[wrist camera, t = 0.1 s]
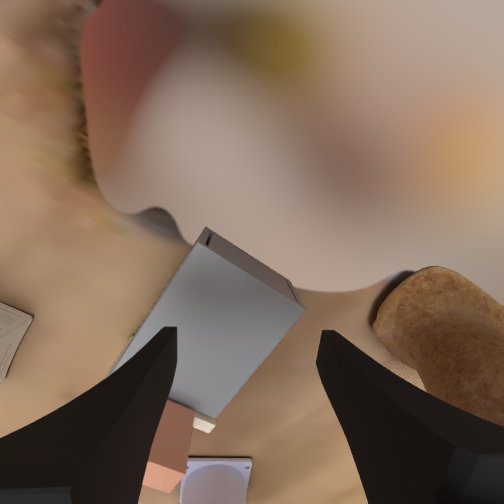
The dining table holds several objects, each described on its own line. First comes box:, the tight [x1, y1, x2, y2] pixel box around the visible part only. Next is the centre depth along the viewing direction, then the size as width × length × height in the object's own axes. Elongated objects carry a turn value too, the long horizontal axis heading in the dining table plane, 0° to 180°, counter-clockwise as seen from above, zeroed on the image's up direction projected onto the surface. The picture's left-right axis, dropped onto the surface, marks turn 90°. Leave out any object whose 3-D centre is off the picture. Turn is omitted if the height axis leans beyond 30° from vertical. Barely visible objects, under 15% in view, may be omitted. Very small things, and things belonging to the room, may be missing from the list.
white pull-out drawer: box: [104, 336, 216, 493], centre depth 18 cm, size 13×9×9 cm
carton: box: [111, 227, 306, 419], centre depth 20 cm, size 12×9×5 cm
